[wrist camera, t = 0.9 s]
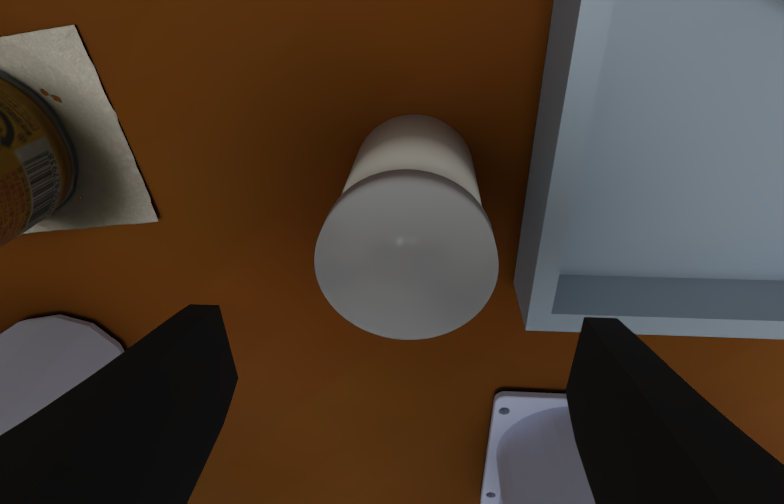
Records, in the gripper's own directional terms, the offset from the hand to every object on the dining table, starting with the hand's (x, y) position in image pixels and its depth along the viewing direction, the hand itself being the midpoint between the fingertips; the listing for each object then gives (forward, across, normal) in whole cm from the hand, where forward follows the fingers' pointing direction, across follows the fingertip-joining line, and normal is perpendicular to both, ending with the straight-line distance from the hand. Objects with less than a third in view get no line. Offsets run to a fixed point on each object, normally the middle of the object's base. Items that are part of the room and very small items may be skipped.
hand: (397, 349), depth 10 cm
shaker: (+9, 0, 0) cm, 9 cm away
